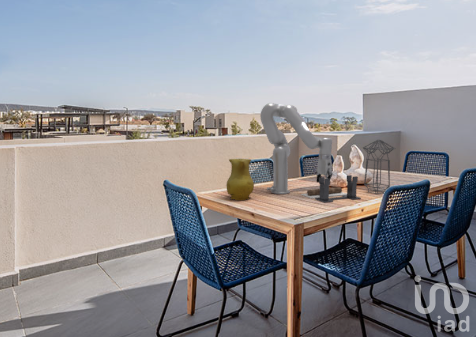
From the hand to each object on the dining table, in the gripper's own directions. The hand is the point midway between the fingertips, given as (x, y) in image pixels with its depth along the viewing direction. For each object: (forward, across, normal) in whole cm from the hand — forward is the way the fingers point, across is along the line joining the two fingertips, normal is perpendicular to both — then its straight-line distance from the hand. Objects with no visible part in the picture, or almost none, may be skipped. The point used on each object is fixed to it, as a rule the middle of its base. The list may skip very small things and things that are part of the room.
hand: (323, 183), depth 230 cm
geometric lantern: (+6, -8, -37) cm, 38 cm away
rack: (+7, -15, -1) cm, 16 cm away
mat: (+7, -1, -1) cm, 8 cm away
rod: (+7, -1, -1) cm, 7 cm away
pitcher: (+10, +12, +52) cm, 54 cm away
